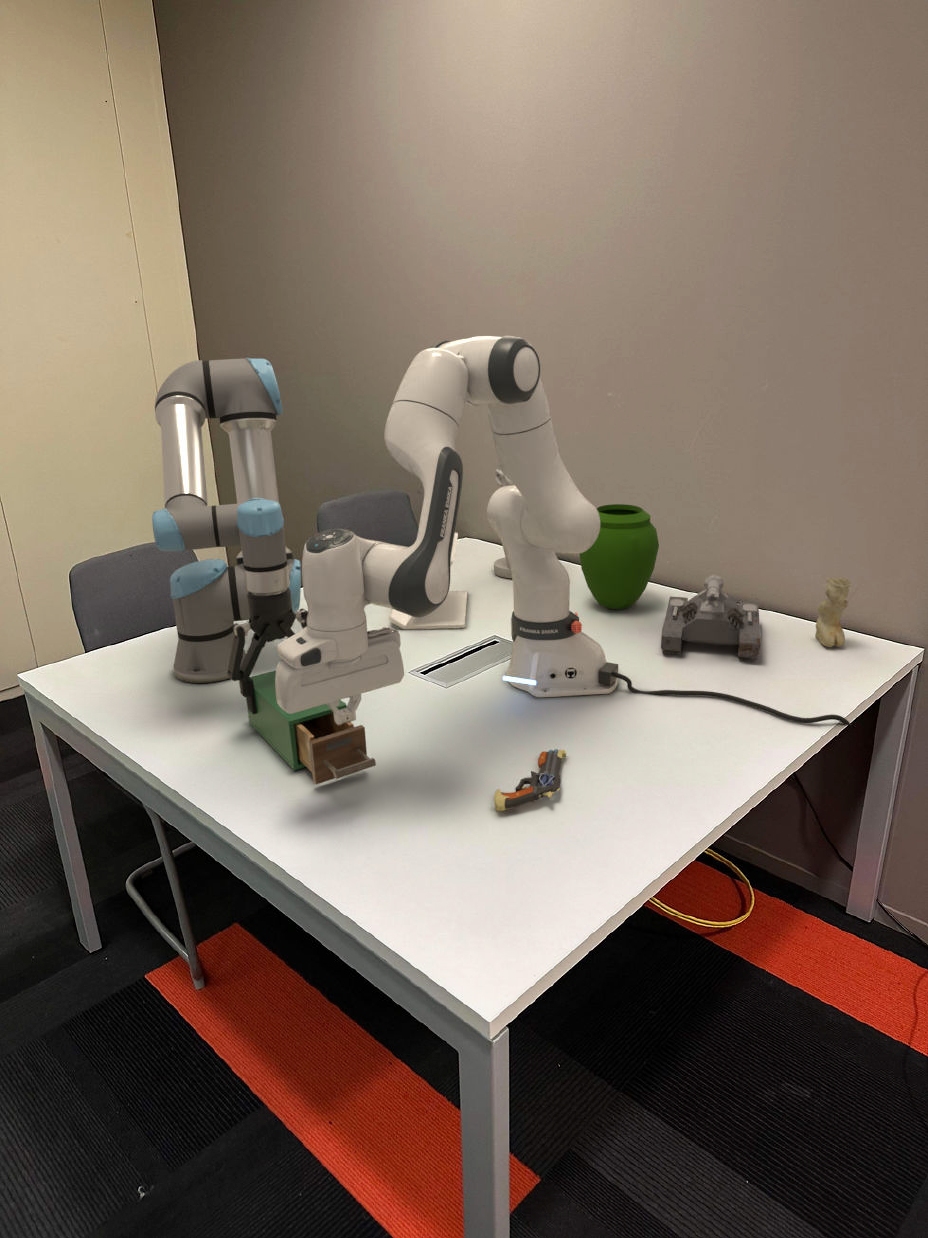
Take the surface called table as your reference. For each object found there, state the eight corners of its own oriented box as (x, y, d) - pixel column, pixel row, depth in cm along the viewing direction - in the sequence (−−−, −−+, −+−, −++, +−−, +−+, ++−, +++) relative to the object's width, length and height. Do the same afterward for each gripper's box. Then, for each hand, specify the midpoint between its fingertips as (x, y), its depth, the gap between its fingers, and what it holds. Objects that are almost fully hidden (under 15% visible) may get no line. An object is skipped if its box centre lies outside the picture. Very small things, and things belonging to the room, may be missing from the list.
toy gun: (490, 800, 128) (557, 798, 126) (507, 746, 146) (566, 744, 144) (492, 816, 129) (558, 814, 127) (509, 761, 147) (567, 758, 145)
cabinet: (350, 752, 148) (346, 704, 145) (294, 770, 143) (288, 721, 140) (301, 708, 165) (296, 664, 162) (249, 723, 160) (243, 678, 156)
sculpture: (821, 649, 184) (830, 583, 179) (808, 637, 191) (816, 573, 185) (848, 649, 184) (858, 582, 179) (834, 636, 191) (843, 572, 185)
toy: (668, 615, 206) (672, 556, 200) (756, 622, 200) (762, 561, 195) (660, 656, 183) (663, 590, 178) (758, 664, 177) (765, 596, 172)
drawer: (384, 781, 137) (381, 741, 134) (331, 800, 132) (327, 758, 129) (317, 721, 157) (313, 685, 155) (269, 736, 153) (264, 699, 150)
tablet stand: (467, 593, 225) (465, 531, 219) (465, 628, 202) (462, 559, 196) (399, 594, 226) (395, 532, 220) (388, 629, 203) (384, 560, 197)
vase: (599, 587, 227) (601, 497, 218) (668, 600, 216) (673, 505, 208) (562, 608, 212) (564, 513, 204) (634, 623, 202) (639, 523, 193)
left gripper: (320, 572, 159) (330, 680, 166) (196, 597, 147) (214, 712, 155) (337, 581, 153) (347, 693, 160) (210, 609, 141) (227, 728, 149)
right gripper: (389, 618, 135) (394, 696, 140) (266, 648, 125) (276, 731, 130) (409, 629, 130) (413, 710, 135) (282, 661, 120) (292, 748, 125)
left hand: (281, 702), depth 158 cm, fingers closed on cabinet, 10 cm apart
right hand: (345, 721), depth 133 cm, fingers closed
